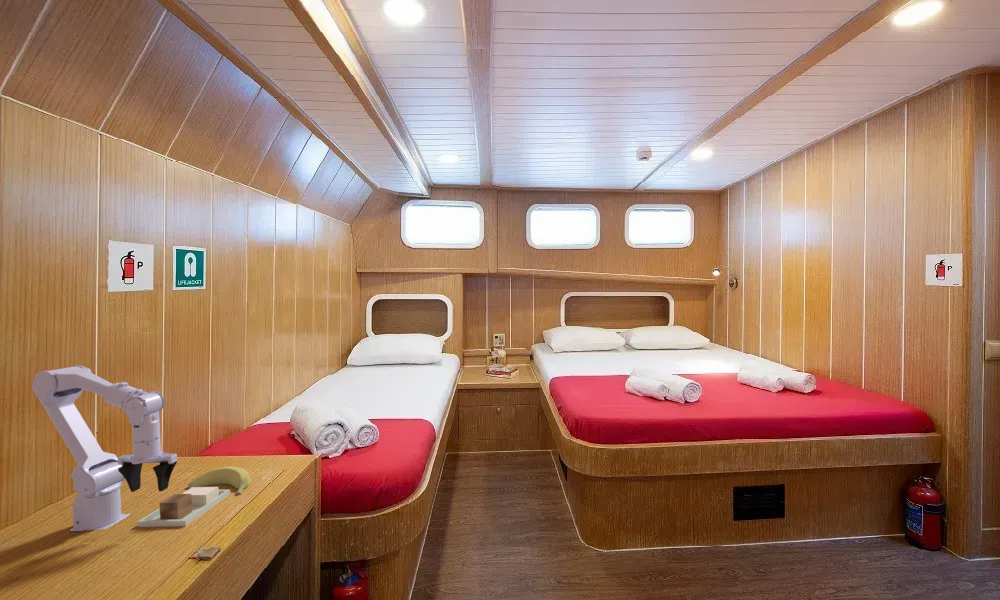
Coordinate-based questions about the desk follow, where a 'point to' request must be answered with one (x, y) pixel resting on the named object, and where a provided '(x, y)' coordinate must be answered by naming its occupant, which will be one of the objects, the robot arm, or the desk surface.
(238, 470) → the banana
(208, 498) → the pale pink block
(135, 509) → the desk surface
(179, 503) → the walnut block
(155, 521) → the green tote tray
